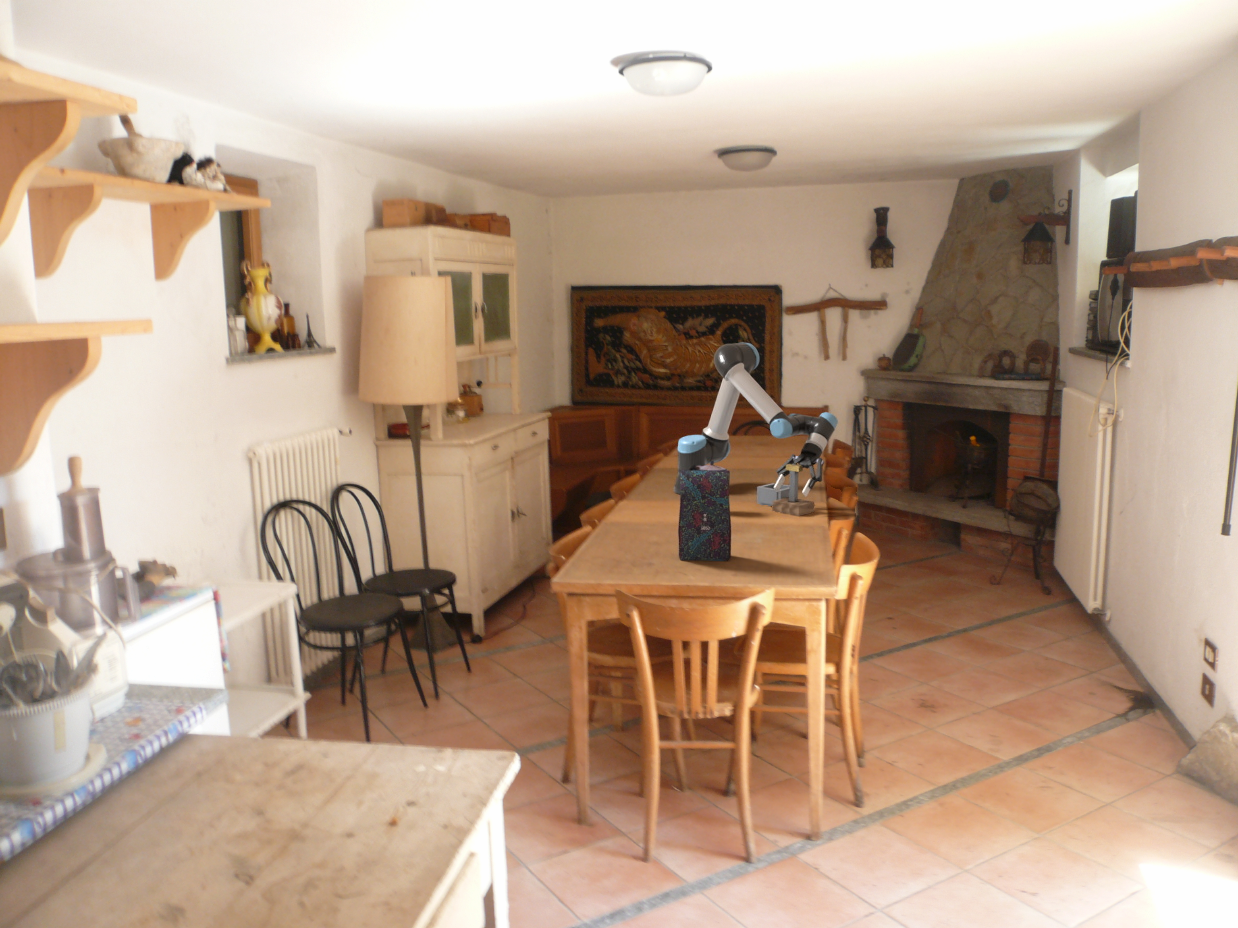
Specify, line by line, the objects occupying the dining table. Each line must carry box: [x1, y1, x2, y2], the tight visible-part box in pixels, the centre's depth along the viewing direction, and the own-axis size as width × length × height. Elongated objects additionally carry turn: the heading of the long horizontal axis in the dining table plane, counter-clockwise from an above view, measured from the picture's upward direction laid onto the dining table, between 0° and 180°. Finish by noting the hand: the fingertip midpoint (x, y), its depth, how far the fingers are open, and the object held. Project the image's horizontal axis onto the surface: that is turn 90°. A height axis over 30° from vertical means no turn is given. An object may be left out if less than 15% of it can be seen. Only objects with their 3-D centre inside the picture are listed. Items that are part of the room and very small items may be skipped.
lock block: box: [772, 497, 815, 517], centre depth 366 cm, size 12×10×4 cm
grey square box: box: [756, 482, 789, 507], centre depth 379 cm, size 11×11×7 cm
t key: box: [786, 464, 804, 503], centre depth 364 cm, size 6×2×18 cm, turn 44°
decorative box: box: [677, 469, 732, 562], centre depth 301 cm, size 8×16×28 cm, turn 84°
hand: (789, 492), depth 363 cm, fingers open, 12 cm apart
